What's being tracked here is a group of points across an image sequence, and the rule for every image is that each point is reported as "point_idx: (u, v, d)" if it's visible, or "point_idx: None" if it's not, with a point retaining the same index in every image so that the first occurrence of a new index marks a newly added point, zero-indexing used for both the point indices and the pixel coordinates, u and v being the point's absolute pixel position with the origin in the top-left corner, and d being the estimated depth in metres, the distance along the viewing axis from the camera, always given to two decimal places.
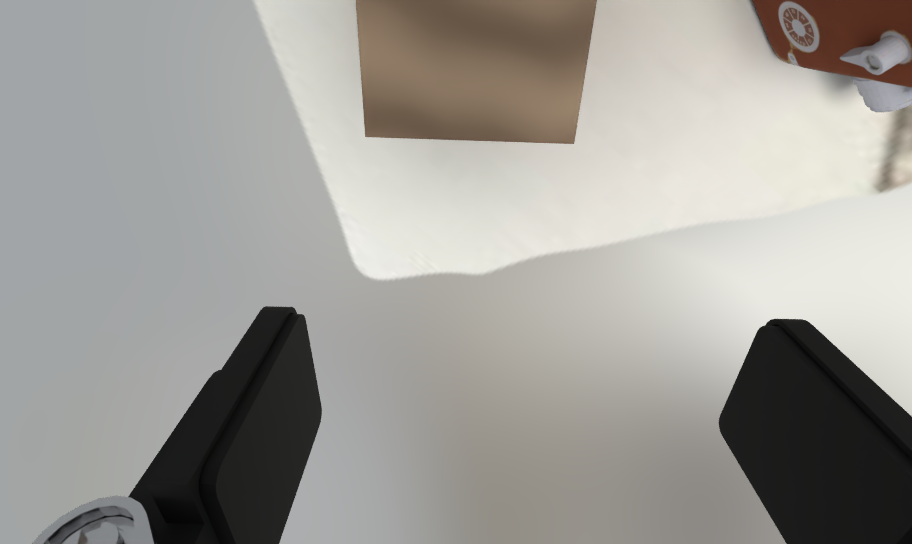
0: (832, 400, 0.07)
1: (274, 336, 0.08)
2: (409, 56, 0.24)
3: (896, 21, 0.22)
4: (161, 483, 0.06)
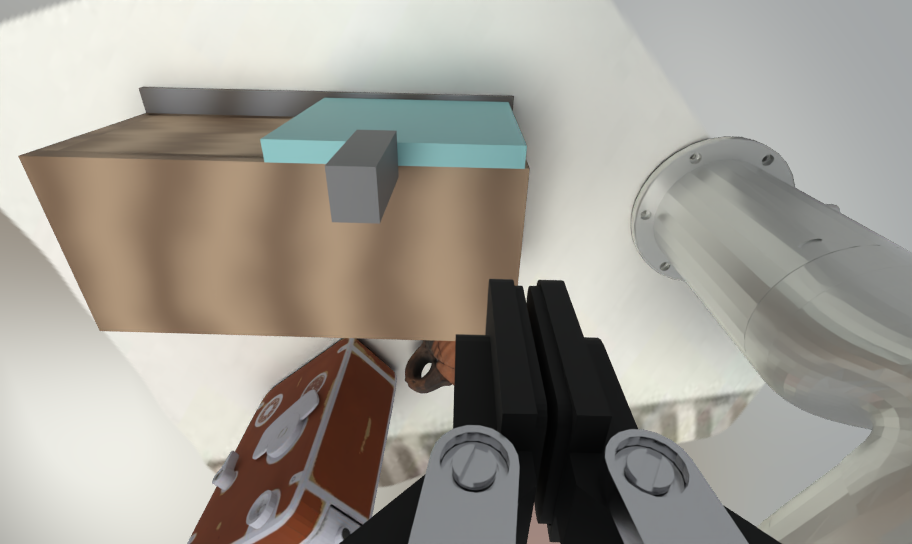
0: (542, 343, 0.08)
1: (517, 302, 0.09)
2: (112, 203, 0.26)
3: (238, 480, 0.38)
4: (511, 414, 0.07)
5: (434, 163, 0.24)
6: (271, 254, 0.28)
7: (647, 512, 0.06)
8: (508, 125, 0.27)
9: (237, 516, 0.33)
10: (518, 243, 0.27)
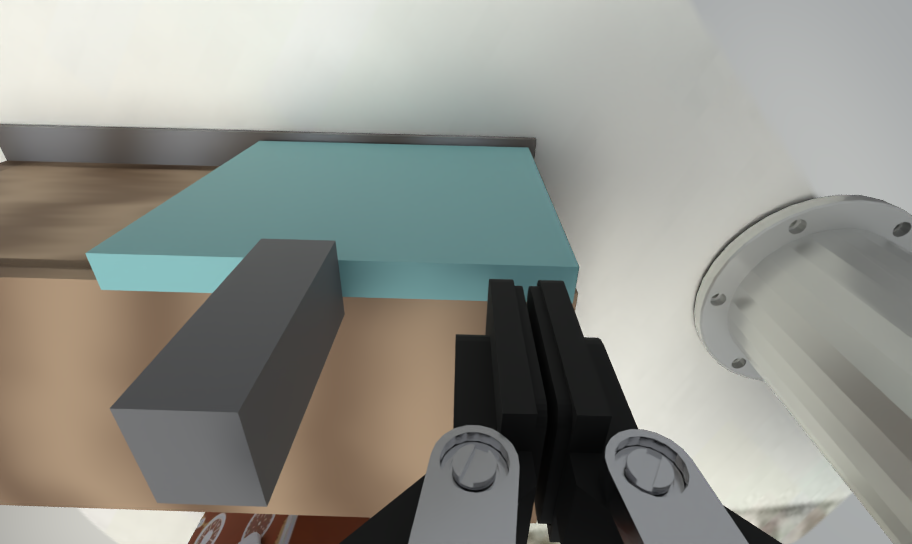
0: (542, 343, 0.08)
1: (517, 302, 0.09)
2: None
3: None
4: (511, 414, 0.07)
5: (408, 293, 0.13)
6: None
7: (647, 512, 0.06)
8: (536, 204, 0.16)
9: None
10: None
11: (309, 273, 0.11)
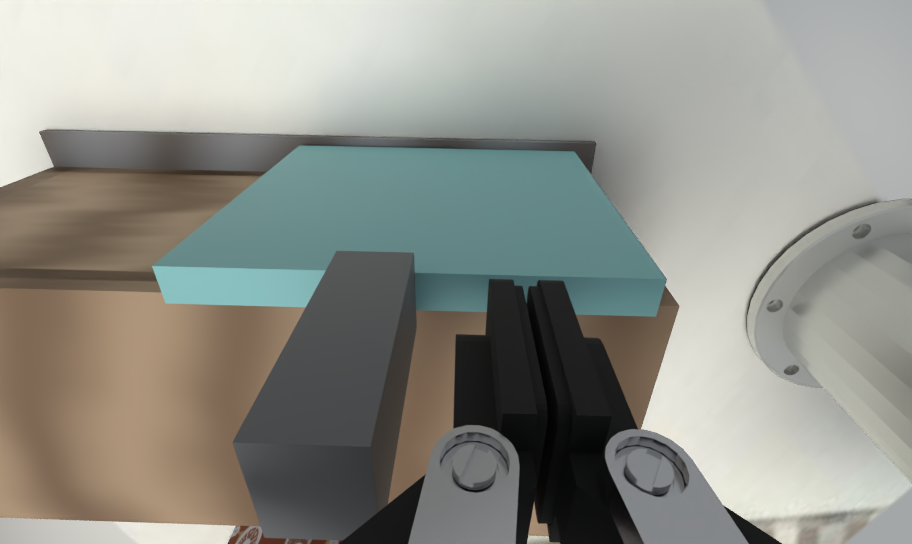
0: (542, 343, 0.08)
1: (517, 302, 0.09)
2: None
3: None
4: (511, 414, 0.07)
5: (485, 307, 0.13)
6: (220, 425, 0.17)
7: (647, 512, 0.06)
8: (601, 212, 0.16)
9: None
10: (639, 414, 0.16)
11: (398, 288, 0.10)
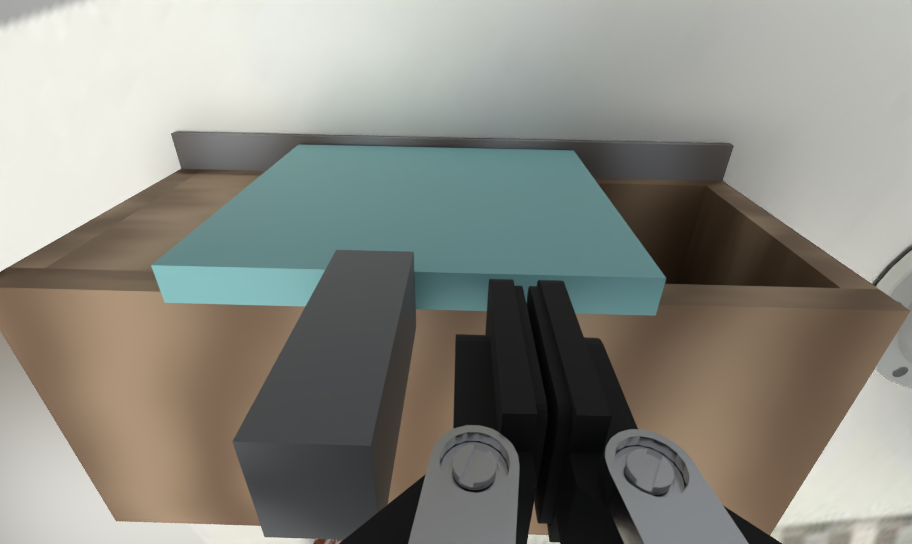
0: (542, 343, 0.08)
1: (517, 302, 0.09)
2: (142, 357, 0.15)
3: None
4: (511, 414, 0.07)
5: (484, 306, 0.13)
6: (405, 429, 0.17)
7: (647, 512, 0.06)
8: (601, 211, 0.16)
9: None
10: (837, 419, 0.16)
11: (398, 287, 0.10)
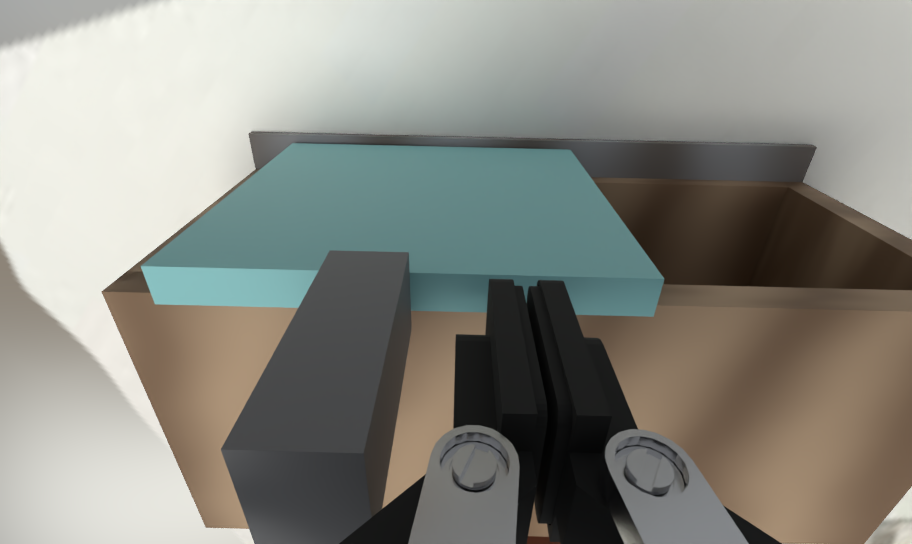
0: (542, 343, 0.08)
1: (517, 302, 0.09)
2: (263, 363, 0.15)
3: None
4: (511, 414, 0.07)
5: (480, 307, 0.12)
6: None
7: (647, 512, 0.06)
8: (598, 211, 0.16)
9: None
10: None
11: (392, 289, 0.10)
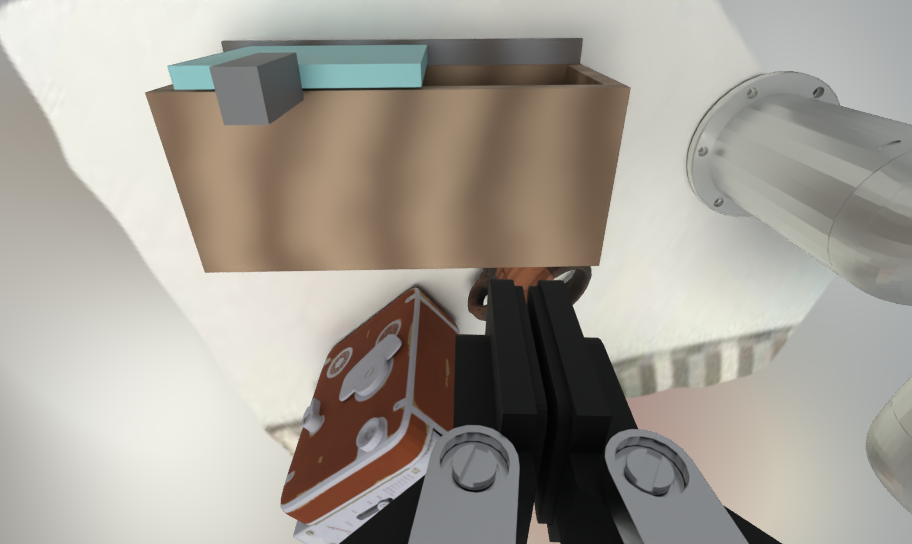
0: (542, 343, 0.08)
1: (517, 302, 0.09)
2: (232, 138, 0.28)
3: (327, 421, 0.39)
4: (511, 413, 0.07)
5: (336, 84, 0.25)
6: (379, 185, 0.29)
7: (647, 512, 0.06)
8: (414, 55, 0.29)
9: (340, 447, 0.35)
10: (613, 163, 0.29)
11: (283, 55, 0.23)
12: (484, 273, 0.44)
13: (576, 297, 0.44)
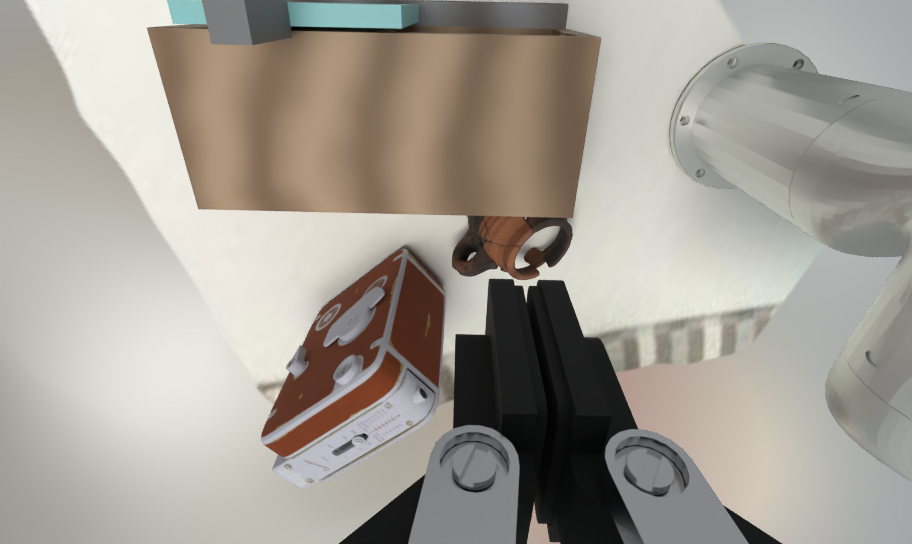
0: (542, 343, 0.08)
1: (517, 302, 0.09)
2: (226, 75, 0.30)
3: (310, 365, 0.41)
4: (511, 414, 0.07)
5: (322, 23, 0.27)
6: (363, 127, 0.31)
7: (647, 512, 0.06)
8: None
9: (319, 384, 0.36)
10: (586, 114, 0.30)
11: None
12: (469, 231, 0.46)
13: (558, 257, 0.45)
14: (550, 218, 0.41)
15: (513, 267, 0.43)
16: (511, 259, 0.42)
